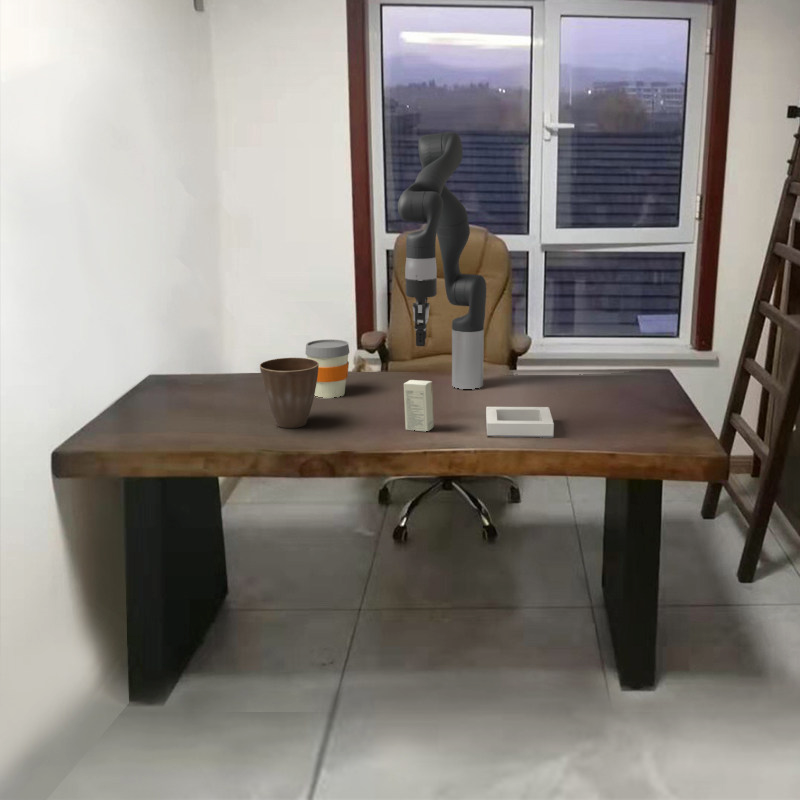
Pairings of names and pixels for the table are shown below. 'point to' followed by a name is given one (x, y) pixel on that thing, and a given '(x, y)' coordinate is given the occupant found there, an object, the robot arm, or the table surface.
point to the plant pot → (290, 389)
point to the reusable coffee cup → (329, 366)
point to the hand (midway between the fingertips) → (421, 342)
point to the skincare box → (418, 405)
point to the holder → (519, 422)
